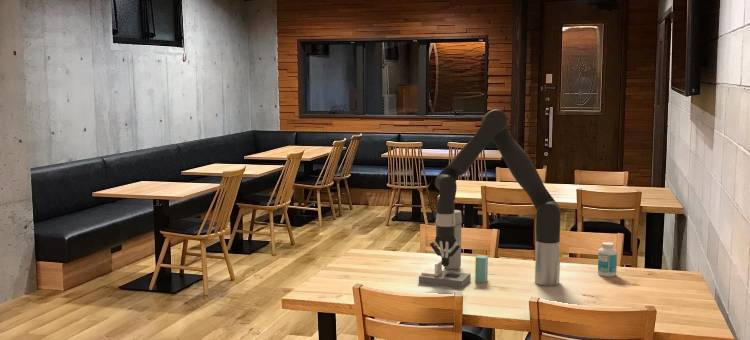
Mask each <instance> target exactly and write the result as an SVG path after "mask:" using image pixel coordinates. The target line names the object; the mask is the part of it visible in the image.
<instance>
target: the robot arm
mask: <svg viewBox="0 0 750 340" xmlns="http://www.w3.org/2000/svg"><path fill="white" fill-rule="evenodd" d="M507 125H508V116H507V114H506V113H505V112H504V111H502V110H501V109H492V110H490V111H487V113H485V114H484V115H483V117H482V119H481V125H480V127H479V128H478V130H477V131H476V133H475V134H474V135H473V136H472V138H471V139H470V140H469V141H468V142H467V143H466V144H465V145H464V146H463V147H462V148H461V149H460V150H459V151H458V153H457V154H456V155H455V157H454V158H453V159H452V160H451V161H450V163H449V164H447V166H445V167H444V168H443V169H442V170H441V171H440V172H439V173H438V175H437V176H436V178H435V179H434V185H435V187H436V189H437V190H438V191H439V195H438V196H439V197H438V198H437V201H436V217H435V234H436V235H435V237H434V241H431V242H430V243H429V245H430V247H431V249H432V250H433V251H434V253H435V254H436V256H438V257H441V261H442V268H443V267H444V268H445V267H447V266H448V265H449V257H452V256H453V255H454V254H455V253H456V252H457V250H458V249H459V248H460V247H461V248H462V243H461V244H458V243H457V242H456V239H455V215H454V210H455V200H456V196H457V195H456V194H457V182H456V180H457V179H458V178H459V177H461V176H462V175H464V174H466V172H467V171H468V170H469V168H470V167H471V166H472V165H473V164H474V162H475V161H476V160H477V158H478V157H479V156H480V154H481V153H482V152H483V150H485V148H486V147H487V145H488V144H489V143H491V141H493V143H494V144H495V146H496V148H497V149H498V151H499V153H500V155H501V157H502V159H503V161H504V163H505V164H506V167H507V168H508V170H509V172H510V173H511V175H512V177H513V178H514V179H515V181H516V182H517V184H518V185H519V186H520V187H521V188H522V189H523V190H524V192H525V193H526V194H527V195H528V196H529V198H530V200H531V202H532V204H533V207H534V208H535V210H536V216H535V218H536V219H535V224H536V225H535V259H534V260H535V263H534V264H535V266H534V283H535V284H537V285H539V286H546V287H549V286H550V287H551V286H558V285H559V283H560V274H561V272H560V270H561V267H560V266H561V259H560V243H561V242H560V241H561V239H560V238H561V214H562V213H561V212H562V211H561V207H560V205H559V204H558V203H557V201H556V200H555V198H553V196H552V195H551V193H550V192H549V191H548V189H547V188H546V186H545V184H544V182H543V181H542V178H541V176H540V174H539V172H538V170H537V168H536V167H535V165H534V163H533V162H532V160H531V158H530V156H529V155H528V154H527V152H526V151H525V150H524V149H523V148H522V146H520V144H519V143H518V142H517V141H516V140H515V139H514V137H513V136H512V134H511V133H510V131H509V128H508V127H507ZM454 244H455V245H454ZM453 245H454V248H455V249H454V250H453V251H452V252H451V253H450V250H451V248H452V246H453Z"/></svg>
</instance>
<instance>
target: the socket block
mask: <svg viewBox="0 0 750 340" xmlns="http://www.w3.org/2000/svg"><path fill="white" fill-rule="evenodd" d="M470 282H471V273H468V272H458V271H450V270H442V273H440V274H439V275H438V276H429V275H422V273H421V274H419V276H418V284H419V285H428V286H437V287H446V288H451V289H452V288H453V289H460V290H461V289H463V288H465V287H466V285H467V284H468V283H470Z"/></svg>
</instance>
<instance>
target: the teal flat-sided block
mask: <svg viewBox="0 0 750 340" xmlns="http://www.w3.org/2000/svg"><path fill="white" fill-rule="evenodd" d="M488 261H489V256H488V255H481V254H478V255H477V256H475V267H474V268H475V271H474V272H475V273H474V274H475V275H474V282H476V281H477V283H486V282H487V281H488V276H489V275H488V272H489V271H488V270H489V269H488V267H489V262H488ZM486 280H487V281H486ZM485 281H486V282H485Z"/></svg>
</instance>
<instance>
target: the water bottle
mask: <svg viewBox="0 0 750 340" xmlns="http://www.w3.org/2000/svg"><path fill="white" fill-rule="evenodd" d="M454 215H455V239H456V242H457V243H458V244H461V245H462V223H463V215H462V211H461V210H458V209H454ZM454 245H455V244H454ZM454 245H453V246H452V248H451V250H450V253H451V252H452V251H453V250H454V249H455V248H454ZM461 263H462V246H461V247H460V248H459V249H458V250H457V252H456V253H455V254H454V255H453V256H452V257H449V265H448V266H447V267H444V268H445V269H447V270H449V271H450V270H454V271H455V270H460V269H461V266H462V264H461Z"/></svg>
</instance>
